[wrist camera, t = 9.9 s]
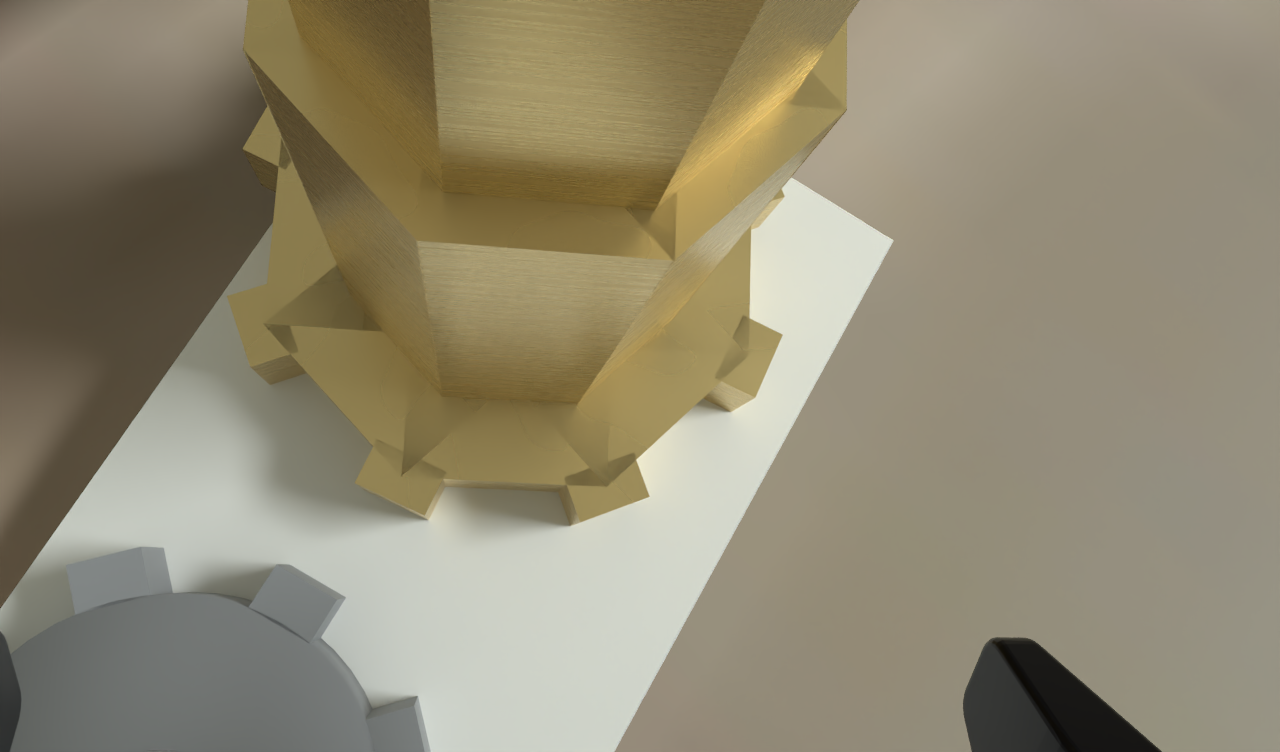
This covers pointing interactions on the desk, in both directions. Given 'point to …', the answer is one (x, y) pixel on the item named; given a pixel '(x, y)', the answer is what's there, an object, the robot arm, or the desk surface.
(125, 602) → the gear board
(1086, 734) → the robot arm
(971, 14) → the desk surface
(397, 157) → the yellow octagonal tube
